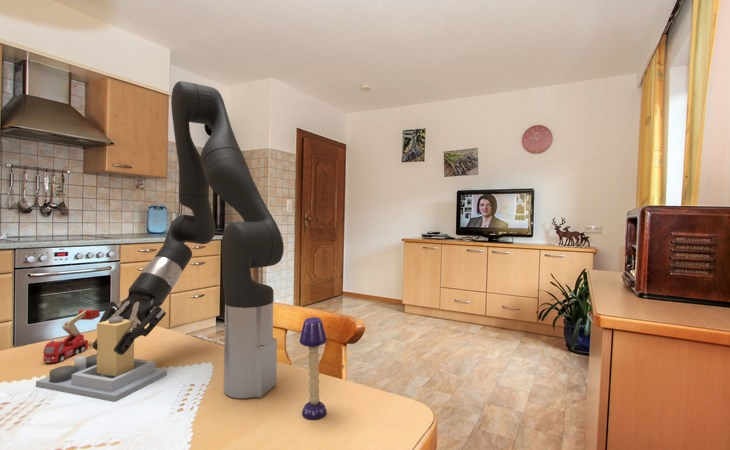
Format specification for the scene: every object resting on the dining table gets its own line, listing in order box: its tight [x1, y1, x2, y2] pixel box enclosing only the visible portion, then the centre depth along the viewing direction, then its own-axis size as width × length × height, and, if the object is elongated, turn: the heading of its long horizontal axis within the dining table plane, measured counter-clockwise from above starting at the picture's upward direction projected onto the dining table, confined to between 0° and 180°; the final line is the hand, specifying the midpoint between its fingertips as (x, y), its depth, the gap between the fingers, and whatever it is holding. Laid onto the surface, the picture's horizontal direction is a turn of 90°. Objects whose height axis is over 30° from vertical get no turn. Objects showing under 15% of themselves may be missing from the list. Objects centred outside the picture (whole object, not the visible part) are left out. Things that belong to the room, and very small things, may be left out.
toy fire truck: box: [42, 309, 101, 364], centre depth 90 cm, size 3×14×10 cm, turn 179°
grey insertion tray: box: [35, 353, 168, 402], centre depth 76 cm, size 20×12×4 cm, turn 74°
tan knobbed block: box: [96, 316, 135, 376], centre depth 75 cm, size 5×4×11 cm
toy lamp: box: [299, 316, 328, 421], centre depth 64 cm, size 5×5×17 cm
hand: (107, 350), depth 73 cm, fingers closed on tan knobbed block, 5 cm apart
